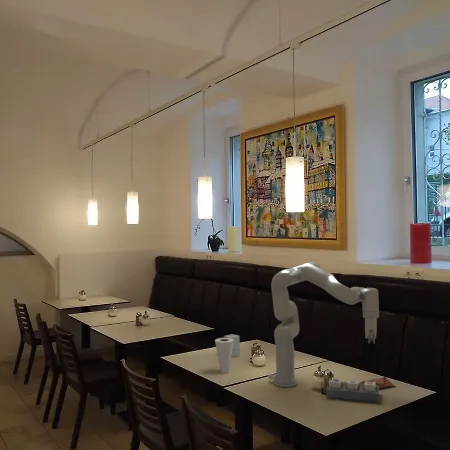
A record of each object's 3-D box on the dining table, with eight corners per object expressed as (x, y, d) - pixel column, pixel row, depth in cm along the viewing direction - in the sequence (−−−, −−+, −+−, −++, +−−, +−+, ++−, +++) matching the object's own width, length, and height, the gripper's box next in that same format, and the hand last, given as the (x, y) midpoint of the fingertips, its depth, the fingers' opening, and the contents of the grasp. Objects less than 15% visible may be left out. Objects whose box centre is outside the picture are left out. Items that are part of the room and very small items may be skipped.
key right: (364, 393, 239) (364, 384, 239) (364, 389, 244) (364, 381, 244) (375, 393, 237) (375, 385, 237) (375, 390, 242) (375, 381, 242)
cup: (234, 369, 290) (234, 337, 290) (233, 374, 279) (232, 342, 279) (216, 368, 291) (216, 337, 291) (214, 374, 280) (213, 342, 280)
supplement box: (232, 353, 324) (232, 333, 323) (240, 355, 318) (239, 335, 318) (223, 355, 319) (223, 335, 319) (231, 358, 313) (230, 337, 313)
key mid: (347, 391, 241) (347, 382, 241) (348, 388, 246) (347, 379, 246) (357, 392, 240) (357, 383, 240) (358, 388, 245) (358, 380, 244)
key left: (330, 389, 244) (330, 381, 244) (331, 386, 249) (331, 378, 248) (340, 390, 242) (340, 382, 242) (341, 387, 247) (341, 379, 247)
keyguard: (326, 398, 240) (326, 389, 240) (329, 389, 253) (329, 380, 253) (378, 403, 233) (378, 393, 233) (379, 394, 245) (379, 384, 245)
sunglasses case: (371, 392, 247) (366, 379, 250) (362, 396, 253) (357, 383, 255) (397, 386, 256) (392, 373, 259) (388, 390, 261) (383, 377, 264)
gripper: (363, 310, 251) (364, 344, 251) (362, 317, 235) (363, 353, 235) (378, 310, 249) (380, 345, 249) (379, 317, 233) (380, 354, 233)
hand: (372, 349), depth 242 cm, fingers open, 9 cm apart
